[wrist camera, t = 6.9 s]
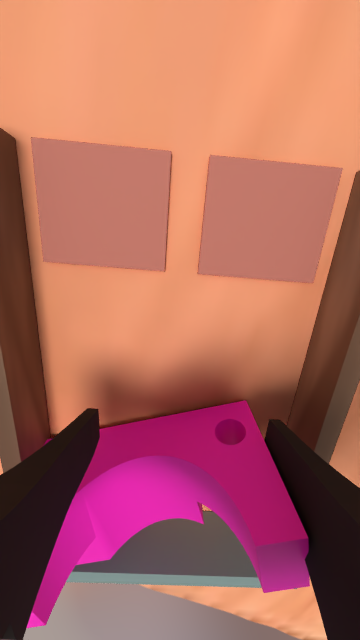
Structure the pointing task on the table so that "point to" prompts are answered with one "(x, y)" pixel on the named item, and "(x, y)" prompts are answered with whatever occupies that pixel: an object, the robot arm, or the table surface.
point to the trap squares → (152, 210)
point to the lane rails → (25, 359)
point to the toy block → (180, 496)
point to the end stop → (176, 557)
